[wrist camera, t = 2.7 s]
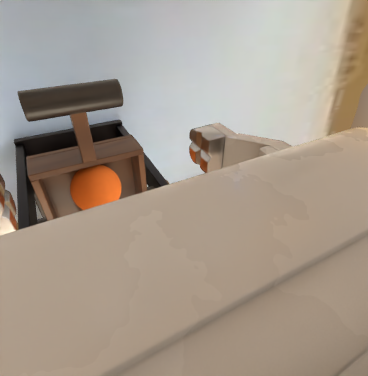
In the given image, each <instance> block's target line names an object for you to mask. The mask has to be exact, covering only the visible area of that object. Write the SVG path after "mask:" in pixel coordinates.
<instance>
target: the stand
mask: <svg viewBox="0 0 368 376" xmlns="http://www.w3.org/2000/svg"><path fill="white" fill-rule="evenodd" d="M89 128H90V132H91V136H92V141H93V143H94V142H99V141H103V140H108V139H113V138H118V137H122V136H127V135H130V134H129V133H128V132H127V131H126V129H125V128H124V127H123V126H122V122H121V121H120V120H116V121H111V122H106V123H100V124H95V125H90V126H89ZM14 144H15V146H16V173H17V203H18V223H17V230H20V229H23V228H26V227H30V226H33V225H36V224H37V213H36V205H35V196H34V189H33V186H32V184H31V181H30V179H29V177H28V170H27V159H26V157H27V156H32V155H37V154H42V153H46V152H51V151H56V150H61V149H65V148H70V147H75V146H78V144H77V140H76V136H75V133H74V129H68V130H63V131H57V132H52V133H47V134H41V135H36V136H30V137H25V138H20V139H14ZM143 154H144V163H145V173H146V183H147V185H148V186H149V187H150V186H154V188H158V187H162V186H165V185H168V184H169V182H168V181H167V180H165V179H164V177H163V176H162V175H161V174H160V172H159V171H158V170H157V169H156V167H155V166H154V165H153V163H152V162H151V161H150V160H149V158H148V157H147V156H146V155H145V153H144V152H143Z"/></svg>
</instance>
